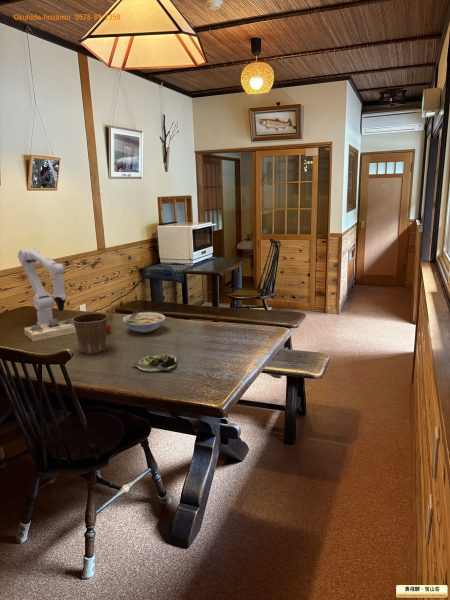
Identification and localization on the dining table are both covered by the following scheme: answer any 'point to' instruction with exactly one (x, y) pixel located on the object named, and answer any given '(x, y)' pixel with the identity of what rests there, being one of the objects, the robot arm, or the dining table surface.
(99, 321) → the plant pot
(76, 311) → the dining table surface
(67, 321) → the button
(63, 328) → the button board
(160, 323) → the ramen bowl
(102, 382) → the dining table surface
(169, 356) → the salad plate
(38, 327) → the button
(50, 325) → the button
